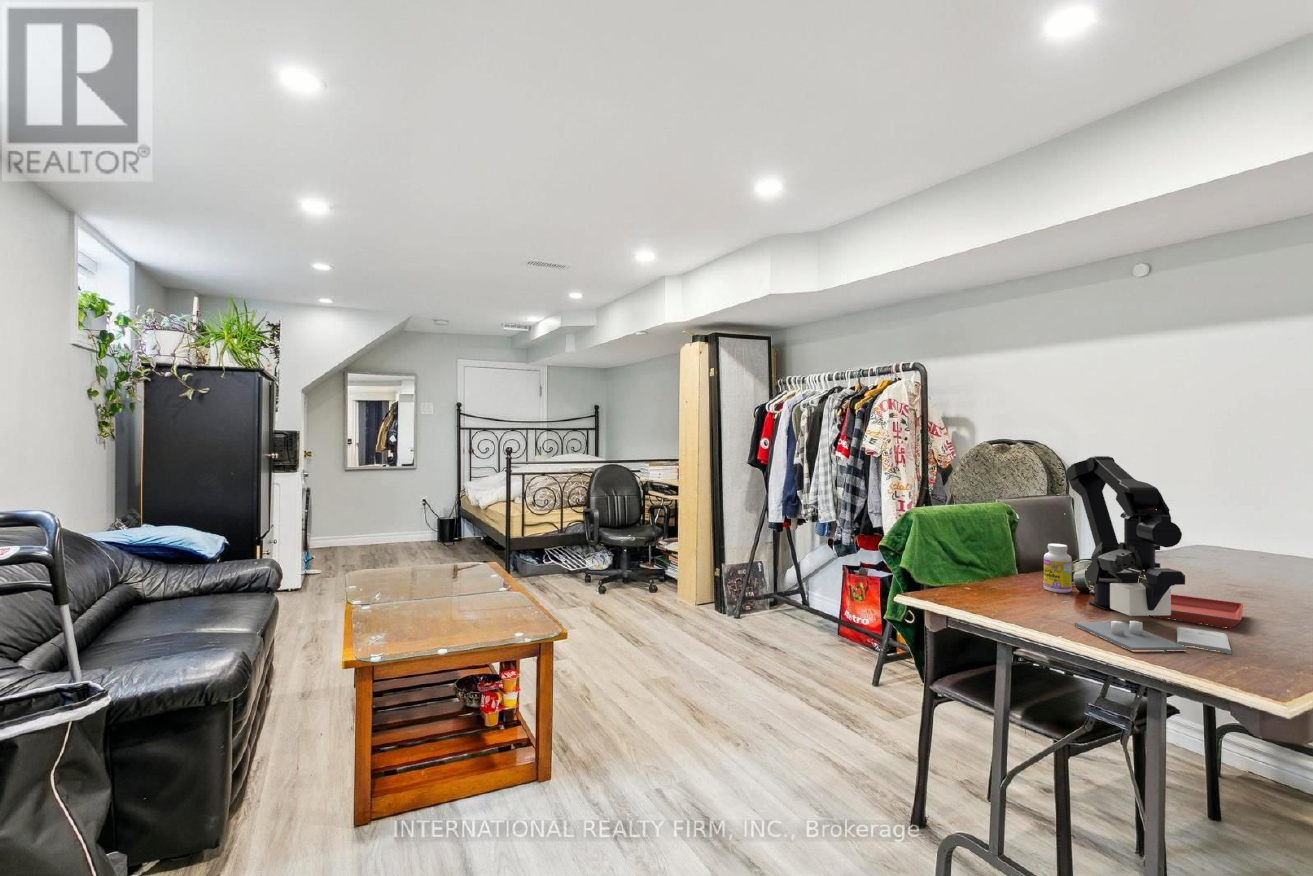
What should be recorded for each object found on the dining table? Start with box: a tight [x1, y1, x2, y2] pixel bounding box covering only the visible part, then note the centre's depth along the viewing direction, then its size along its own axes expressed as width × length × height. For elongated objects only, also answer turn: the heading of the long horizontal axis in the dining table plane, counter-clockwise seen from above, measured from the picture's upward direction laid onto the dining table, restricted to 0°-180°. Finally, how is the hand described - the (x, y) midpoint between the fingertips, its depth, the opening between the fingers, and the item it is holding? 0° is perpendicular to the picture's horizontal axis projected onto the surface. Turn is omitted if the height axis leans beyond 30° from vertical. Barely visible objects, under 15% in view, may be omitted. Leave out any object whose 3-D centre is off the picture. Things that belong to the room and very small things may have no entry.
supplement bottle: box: [1043, 543, 1073, 594], centre depth 174 cm, size 7×7×13 cm
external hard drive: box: [1176, 626, 1232, 655], centre depth 130 cm, size 2×8×12 cm
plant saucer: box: [1149, 593, 1244, 629], centre depth 149 cm, size 18×18×3 cm
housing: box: [1110, 582, 1172, 617], centre depth 144 cm, size 10×6×6 cm, turn 90°
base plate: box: [1074, 620, 1187, 651], centre depth 133 cm, size 17×11×4 cm, turn 0°
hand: (1139, 606), depth 144 cm, fingers closed on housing, 6 cm apart
